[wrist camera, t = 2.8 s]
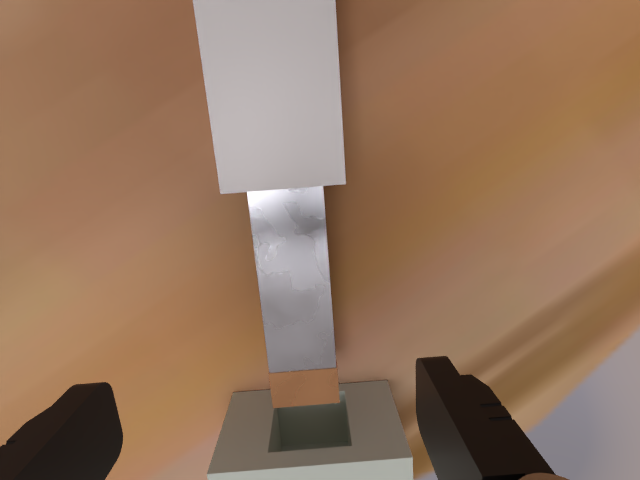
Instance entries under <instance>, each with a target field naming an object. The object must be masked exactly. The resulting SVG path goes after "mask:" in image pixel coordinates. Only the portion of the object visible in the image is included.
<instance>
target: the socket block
mask: <svg viewBox="0 0 640 480" xmlns="http://www.w3.org/2000/svg"><path fill="white" fill-rule="evenodd" d="M339 398H340V403H331V404H319V405H306V406H294V407H281V408H273V405H272V397H271V389H270V390H257V391H245V392H233V395H232V398H231V401H230V404H229V407H228V410H227V413H226V416H225V419H224V423H223V426H222V429H221V432H220V435H219V438H218V441H217V444H216V447H215V451H214V454H213V457H212V460H211V463H210V466H209V469H208V472H207V477H208V480H413V457H412V454H411V451H410V448H409V445H408V442H407V439H406V436H405V433H404V430H403V427H402V424H401V421H400V417H399V414H398V411H397V408H396V405H395V402H394V399H393V396H392V393H391V390H390V387H389V384H388V381H387V380H382V381H369V382H357V383H345V384H339Z"/></svg>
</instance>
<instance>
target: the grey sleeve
mask: <svg viewBox="0 0 640 480" xmlns="http://www.w3.org/2000/svg"><path fill="white" fill-rule="evenodd" d="M193 5H194V12H195V19H196V26H197V33H198V40H199V47H200V54H201V61H202V68H203V75H204V82H205V89H206V96H207V103H208V110H209V117H210V124H211V131H212V138H213V145H214V152H215V159H216V166H217V173H218V180H219V187H220V194H228V193H240V192H253V191H266V190H279V189H292V188H304V187H317V186H330V185H343V184H346V176H345V158H344V141H343V123H342V106H341V89H340V71H339V54H338V37H337V19H336V2H335V0H193Z"/></svg>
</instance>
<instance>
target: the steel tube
mask: <svg viewBox="0 0 640 480" xmlns="http://www.w3.org/2000/svg"><path fill="white" fill-rule="evenodd" d="M247 197H248V205H249V213H250V221H251V229H252V237H253V245H254V253H255V261H256V269H257V277H258V285H259V293H260V301H261V309H262V317H263V325H264V333H265V341H266V349H267V357H268V365H269V381H270V389H271V397H272V405H273V408H281V407H294V406H306V405H319V404H331V403H340V398H339V384H338V370H337V361H336V353H335V341H334V327H333V313H332V300H331V286H330V272H329V259H328V245H327V231H326V217H325V204H324V190H323V186H317V187H304V188H292V189H279V190H266V191H253V192H247Z"/></svg>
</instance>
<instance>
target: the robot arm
mask: <svg viewBox="0 0 640 480" xmlns="http://www.w3.org/2000/svg"><path fill="white" fill-rule="evenodd" d="M416 414H417V421H418V426H419V430H420V434H421V437H422V439H423V442H424V444H425V447H426V450H427V452H428V455H429V457H430V460H431V462H432V465H433V467H434V470H435V473H436V475H437V478H438V480H568V479H566V478H564V477H560V476H558V475H556V474H555V473H554V472H553V471H552V469H551V468H550V467H549V465H548V464H547V463H546V461H545V460H544V459H543V457H542V456H541V455H540V454H539V452H538V451H537V449H536V448H535V447H534V445H533V444H532V443H531V441H530V440H529V439H528V437H527V436H526V435H525V434H524V432H523V431H522V430H521V428H520V427H519V426H518V424H517V423H516V422H515V420H512V418H511V415H510V414H509V412H508V411H507V410H506V408H505V407H504V406H502V405H501V402H500V401H499V399H498V398H497V397H496V395H495V394H494V393H493V391H492V390H491V389H490V387H489V386H487V385H486V384H484V383H483V382H481V381H480V380H478V379H477V378H475V377H474V376H472V375H460V374H459V373H458V371H457V370H456V369H455V367H454V366H453V364H452V363H451V361H450V360H449V358H448V357H447V356H440V357H427V358H418V359H417V360H416ZM122 443H123V432H122V427H121V423H120V419H119V415H118V411H117V407H116V403H115V398H114V394H113V390H112V388H111V386H110V384H108V383H106V382H101V383H89V384H76V385H73V386H72V387H70V388H69V389H68V390H67V391H66V392H65V393H64V394H63V395H62V396H61V397H60V398H59V399H58V400H57V401H56V402H55V403H54V404H53V405H52V406H51V407H49V408H48V409H46V410H45V411H43V412H42V413H40V414H39V415H37V416H36V417H34V418H32V419H31V420H29V421H28V422H26V423H25V424H24V425H23V426H22V427H21V428H20V429H19V430H18V431H17V432H16V433H15V434H14V435H13V436H11V437H10V438H9V439H8V440H7V443H6V445H2V446H1V447H0V480H105V478H106V477H107V475H108V474H109V472H110V470H111V469H112V467H113V466H114V464H115V462H116V461H117V459H118V457H119V455H120V452H121V448H122Z"/></svg>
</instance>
